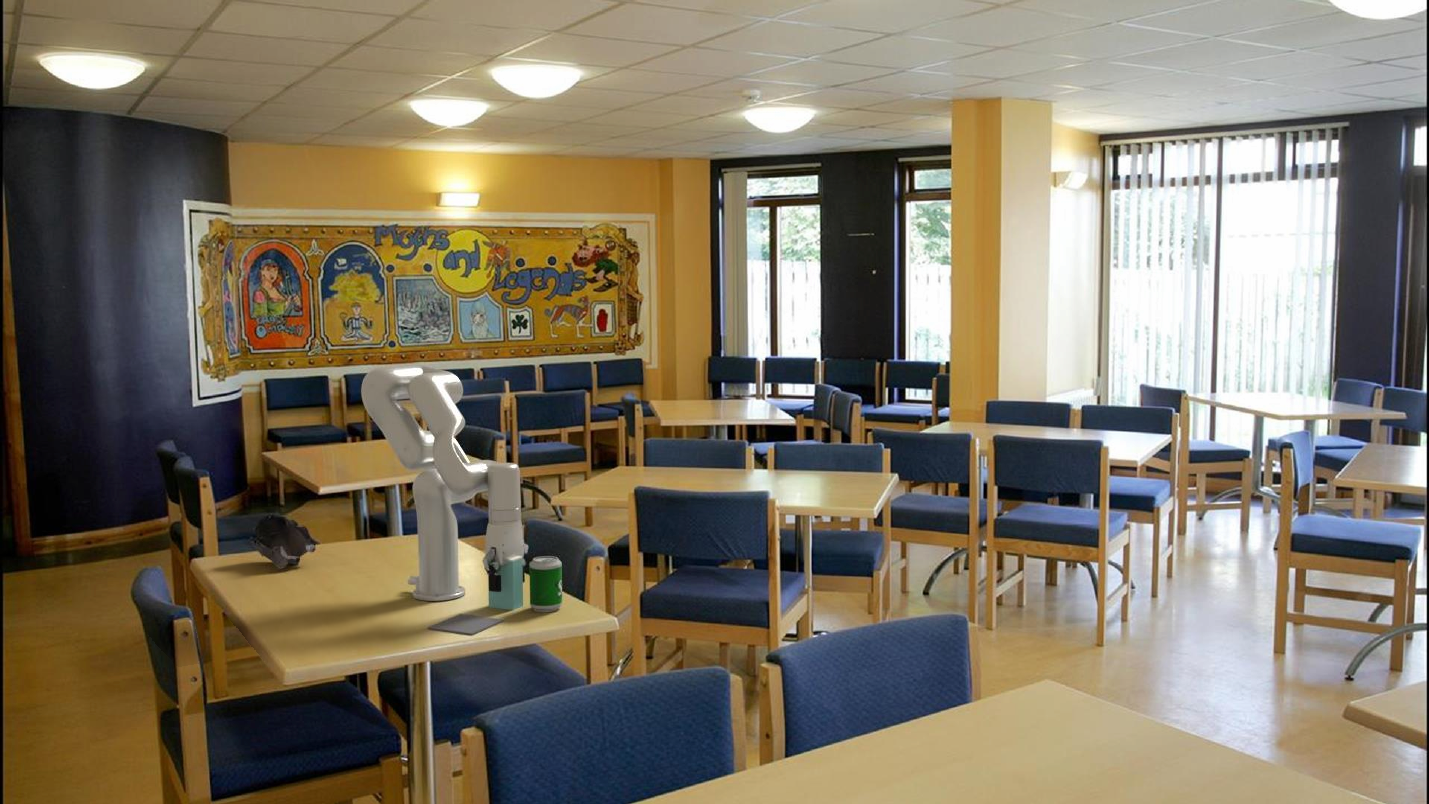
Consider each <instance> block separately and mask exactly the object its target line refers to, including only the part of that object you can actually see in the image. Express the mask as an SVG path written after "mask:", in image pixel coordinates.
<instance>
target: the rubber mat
mask: <svg viewBox="0 0 1429 804" xmlns="http://www.w3.org/2000/svg"><path fill="white" fill-rule="evenodd" d="M503 622H505V619H502V618H494V617H487V616H480V615H475V614H466V613H465V614H463V613H459V614H457V615H455V616H451V617H449V618H447V619H445V620H441V621H439V622H437V623H435V624H432V625H430V626H427V630H433V631H440V632H446V633H447V632H448V633H455V634H460V635H461V634H462V635H468V636H474V635H477V634H479V633H481V632H483V631H485V630H488V629H489V628H490V629H491V628H492V627H495V626H497V625H499V624H501V623H503Z"/></svg>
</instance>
